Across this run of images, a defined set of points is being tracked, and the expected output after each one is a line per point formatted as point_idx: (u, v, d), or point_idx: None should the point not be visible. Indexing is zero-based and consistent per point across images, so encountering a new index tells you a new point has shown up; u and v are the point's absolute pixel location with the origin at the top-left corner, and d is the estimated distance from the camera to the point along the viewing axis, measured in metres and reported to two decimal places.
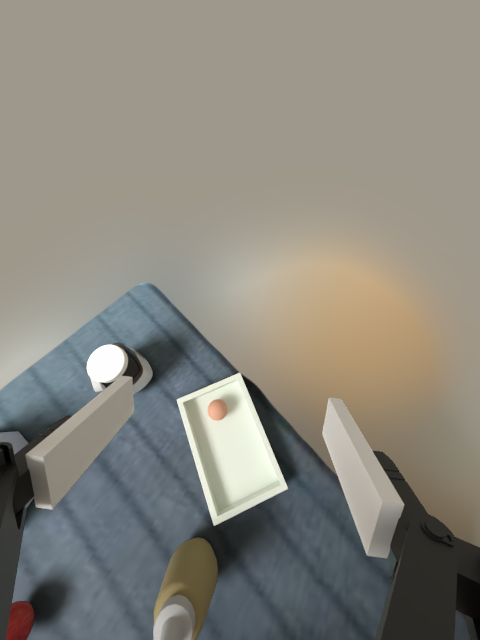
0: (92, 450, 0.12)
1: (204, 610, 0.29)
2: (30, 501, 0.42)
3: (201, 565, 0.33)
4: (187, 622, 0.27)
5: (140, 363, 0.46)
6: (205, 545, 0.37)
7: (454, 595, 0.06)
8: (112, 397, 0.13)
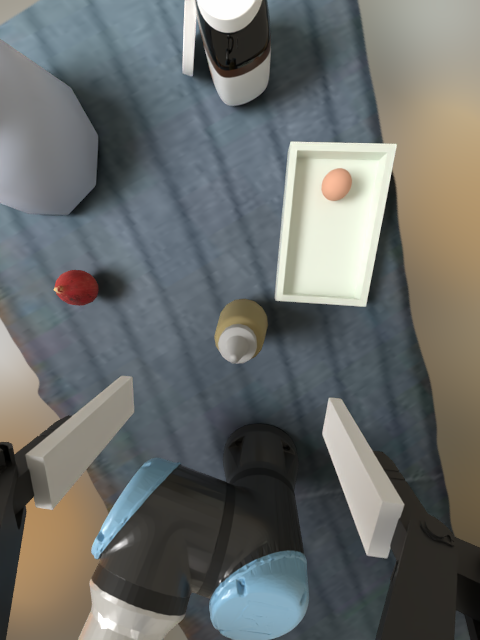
0: (92, 450, 0.12)
1: (261, 347, 0.30)
2: (91, 188, 0.36)
3: (262, 319, 0.33)
4: (252, 346, 0.27)
5: None
6: (263, 310, 0.36)
7: (454, 595, 0.06)
8: (112, 397, 0.13)
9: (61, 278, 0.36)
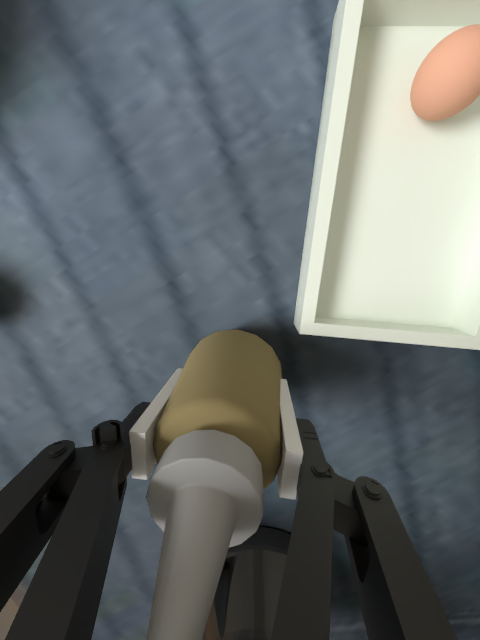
0: None
1: None
2: None
3: (275, 387, 0.14)
4: (251, 513, 0.09)
5: None
6: (273, 353, 0.18)
7: (332, 512, 0.08)
8: None
9: None
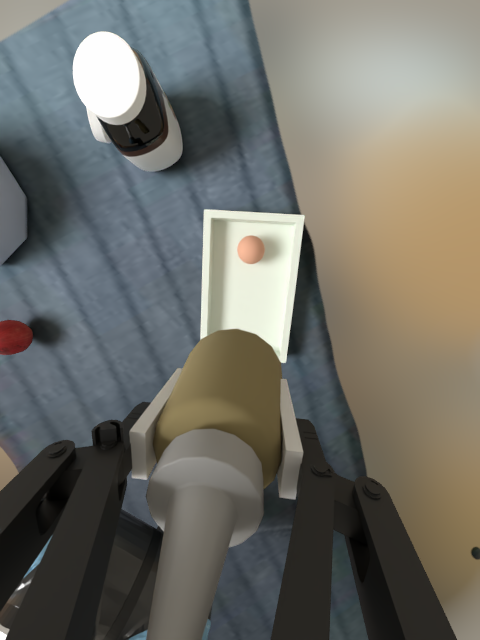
0: None
1: None
2: (20, 243, 0.37)
3: (275, 386, 0.14)
4: (251, 513, 0.09)
5: (166, 117, 0.27)
6: (274, 353, 0.18)
7: (332, 512, 0.08)
8: None
9: None
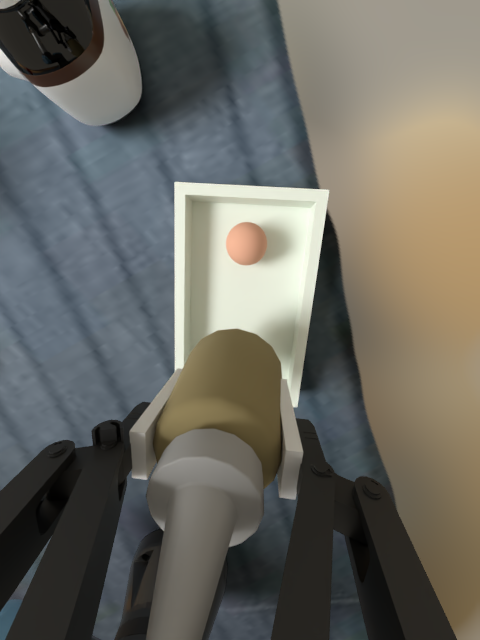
0: None
1: None
2: None
3: (275, 386, 0.14)
4: (251, 512, 0.09)
5: (99, 14, 0.15)
6: (274, 353, 0.18)
7: (332, 512, 0.08)
8: None
9: None
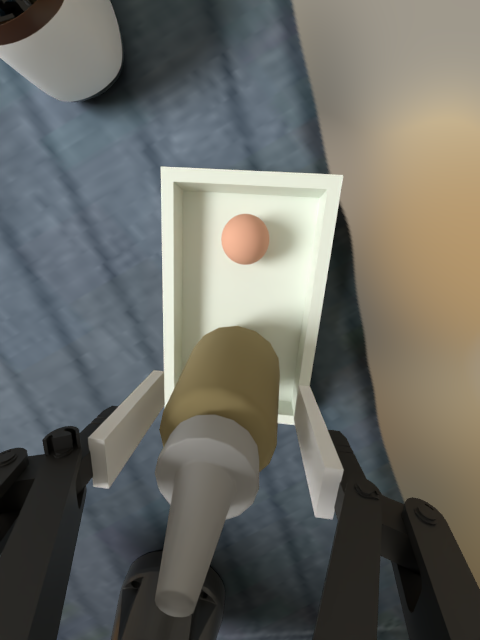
0: (135, 437, 0.13)
1: None
2: None
3: (272, 379, 0.15)
4: (247, 487, 0.10)
5: None
6: (272, 349, 0.19)
7: (379, 539, 0.07)
8: (150, 390, 0.14)
9: None
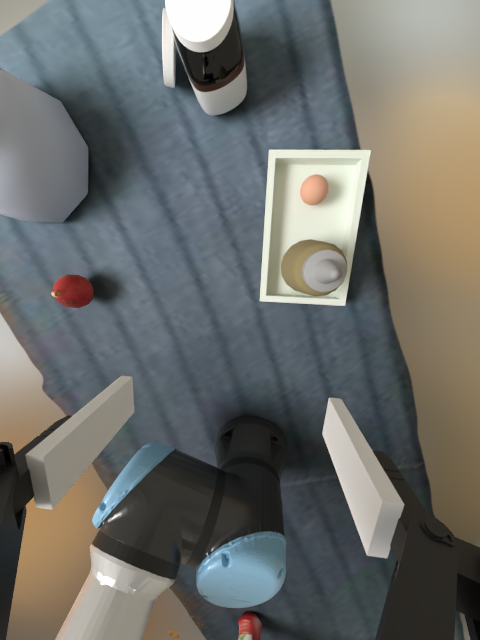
0: (92, 450, 0.12)
1: None
2: (83, 197, 0.38)
3: None
4: (343, 271, 0.25)
5: (243, 48, 0.27)
6: None
7: (454, 595, 0.06)
8: (112, 397, 0.13)
9: (58, 283, 0.38)
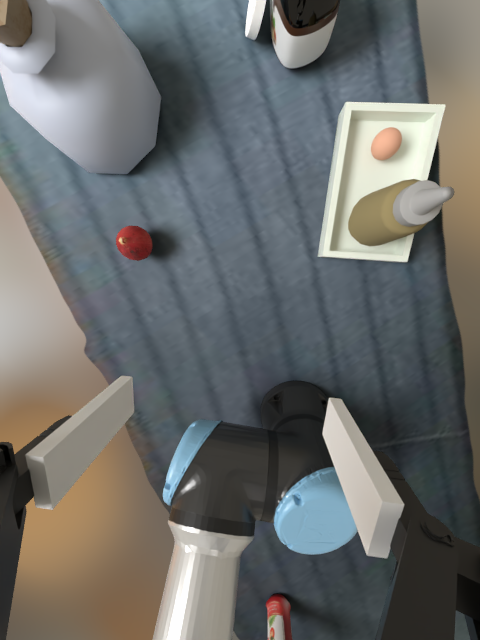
0: (92, 450, 0.12)
1: None
2: (151, 148, 0.39)
3: None
4: None
5: None
6: None
7: (454, 595, 0.06)
8: (112, 397, 0.13)
9: (124, 231, 0.38)
